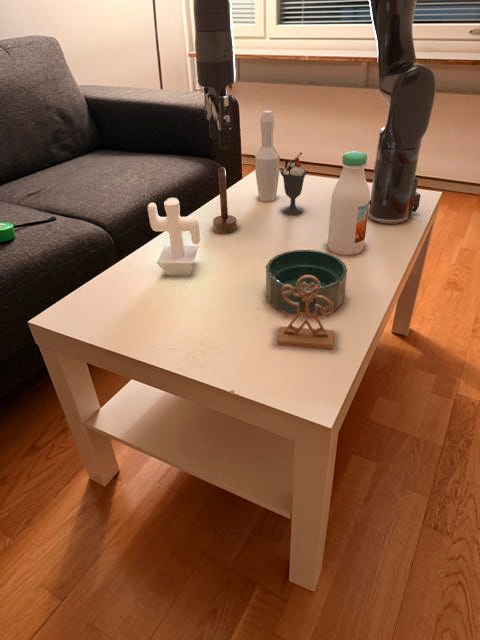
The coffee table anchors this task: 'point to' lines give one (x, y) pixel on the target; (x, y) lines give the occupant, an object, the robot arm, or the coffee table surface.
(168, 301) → the coffee table surface
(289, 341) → the gingerbread man figurine
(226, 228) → the wooden peg stand
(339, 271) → the bowl
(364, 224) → the milk bottle
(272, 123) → the low poly bottle
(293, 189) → the sundae
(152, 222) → the figurine
